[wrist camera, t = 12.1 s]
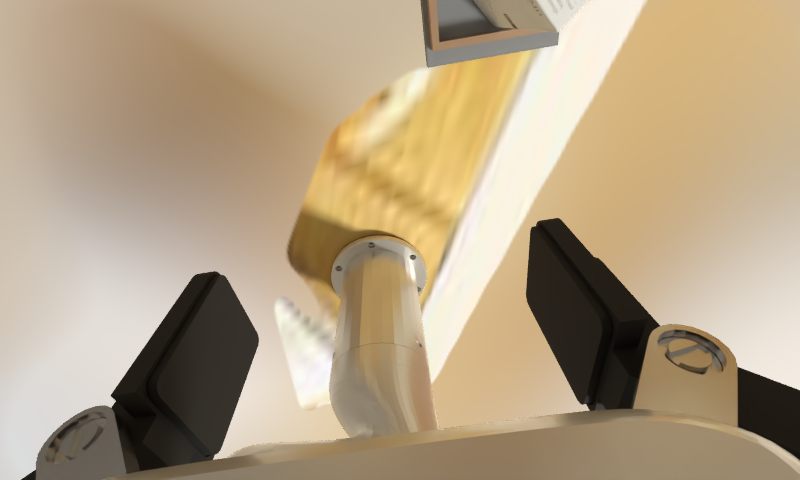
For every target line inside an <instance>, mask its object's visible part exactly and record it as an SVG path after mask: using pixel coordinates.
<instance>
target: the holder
mask: <svg viewBox="0 0 800 480" xmlns="http://www.w3.org/2000/svg"><path fill="white" fill-rule="evenodd" d="M421 10H422V20H423V31H424V40H425V51H426V61H427V67H434V66H440V65H446V64H451V63H457V62H463V61H469V60H474V59H480V58H486V57H492V56H497V55H503V54H509V53H515V52H520V51H526V50H532V49H538V48H543V47H549V46H555V45H558V37H559V32H546V31H535V30H524V29H513V28H503V27H495V26H493V25H492V24H491V22H490V21H489V20H488V19H487V18H486V16H485V15H484V14H483V12H482V11H481V10H480V8H479V7H478V6H477V5H476V3H475V2H474V0H421Z"/></svg>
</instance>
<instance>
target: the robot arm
mask: <svg viewBox="0 0 800 480" xmlns="http://www.w3.org/2000/svg"><path fill="white" fill-rule="evenodd" d="M371 242H372V243H371ZM527 275H528V276H527V289H526V298H527V302H528V305H529V307H530V309H531V311H532V313H533V315H534V317H535V319H536V321H537V322H538V324H539V326H540V328H541V330H542V332H543V334H544V336H545V338H546V340H547V342H548V344H549V346H550V348H551V350H552V351H553V353H554V355H555V357H556V359H557V361H558V363H559V365H560V367H561V369H562V371H563V373H564V375H565V377H566V378H567V381H568V382H569V384H570V386H571V388H572V390H573V392H574V394H575V396H576V398H577V400H578V401H579V402H580V403H581V404H587V406H588V408H589V410H590V411H583V412H575V413H565V414H556V415H548V416H539V417H530V418H521V419H513V420H505V421H498V422H490V423H483V424H475V425H467V426H460V427H451V428H444V429H440V427H439V423H438V419H437V414H436V409H435V404H434V398H433V392H432V386H431V379H430V372H429V365H428V358H427V351H426V344H425V337H424V331H423V324H422V317H421V310H420V303H419V296H420V294H421V293H422V292H423V290H424V288H425V285H426V281H427V270H426V265H425V262H424V259H423V257H422V256H421V254H420V253H419V251H418V250H416V249H415V248H414V247H413V246H412V245H410V244H409V243H407V242H406V241H403V240H401V239H398V238H395V237H391V236H381V235H376V236H368V237H364V238H361V239H358V240H356V241H354V242H352V243H350V244H349V245H347V246H346V247H345V248H343V249H342V250H341V252H340V253H339V254H338V255H337V257H336V259H335V260H334V263H333V267H332V273H331V280H332V285H333V288H334V290H335V292H336V293H337V295H338V296H339V297H340V306H339V314H338V321H337V329H336V337H335V344H334V352H333V359H332V368H331V375H330V384H329V392H330V400H331V404H332V408H333V410H334V412H335V414H336V417H337V419H338V420H339V422H340V424H341V425H342V427H343V429H344V430H345V431H346V433H347V434H348V436H349V437H350V438H346V439H336V440H328V441H327V440H326V441H303V442H280V443H267V444H258V445H252V446H249V447H245V448H242V449H240V450H238V451H236V452H234V453H233V454H231V455H230V456H229V457H227V458H224V459H217V460H213V458H214V455H215V454H217V453H218V452H219V451H220V450H221V447H222V445H223V442H224V439H225V436H226V434H227V431H228V428H229V425H230V422H231V419H232V417H233V414H234V411H235V408H236V406H237V403H238V400H239V397H240V394H241V392H242V389H243V386H244V383H245V380H246V378H247V375H248V372H249V369H250V366H251V364H252V361H253V358H254V355H255V353H256V350H257V347H258V342H259V338H258V334H257V332H256V330H255V328H254V326H253V325H252V323H251V321H250V319H249V317H248V316H247V314H246V312H245V310H244V309H243V307H242V305H241V303H240V301H239V299H238V298H237V296H236V294H235V292H234V290H233V289H232V287H231V285H230V283H229V282H228V280H227V278H226V277H225V276H224V275H220V274H219V273H218V272H215V271H214V272H208V273H202V274H197V275H195V276H194V277H193V278H192V279H191V281H190V282H189V284H188V285H187V287H186V288H185V289H184V291H183V292H182V294H181V295H180V297H179V298H178V299H177V301H176V302H175V304H174V305H173V307H172V308H171V309H170V311H169V312H168V314H167V315H166V317H165V318H164V319H163V321H162V322H161V324H160V325H159V327H158V328H157V330H156V331H155V332H154V334H153V335H152V337H151V338H150V340H149V341H148V343H147V344H146V346H145V347H144V348H143V350H142V351H141V353H140V354H139V355H138V357H137V358H136V360H135V361H134V363H133V364H132V366H131V367H130V368H129V370H128V371H127V373H126V374H125V376H124V377H123V379H122V380H121V381H120V383H119V384H118V386H117V387H116V389H115V390H114V392H113V393H112V394H111V397H113V398H114V399H115V400H116V402H115V403H114V405H113V406H112V408H110V407H108V406H95V407H92V408H89V409H87V410H84V411H82V412H80V413H79V414H77V415H75V416H73V417H72V418H71V419H69V420H68V421H66V422H65V423H63V425H61V426H60V427H59V428H58V429H57V430H56V431H55V432H53V434H52V435H51V436H50V437H49V438H48V440H47V441H46V442H45V443H44V445H43V447H42V448H41V450H40V452H39V453H38V457H37V461H36V470H35V471H33V472H32V473H30V474H29V475H27V476H26V477H24V478H23V479H22V480H800V390H797V389H794V388H792V387H789V386H787V385H784V384H781V383H779V382H776V381H773V380H770V379H768V378H766V377H763V376H760V375H758V374H754V373H752V372H750V371H747V370H744V369H742V368H739V367H737V363H736V359H735V356H734V355H733V354H732V352H731V351H730V349H729V348H728V347H727V346H725V345H724V344H723V343H722V342H721V341H720V340H719V339H717V338H715V337H714V336H712V335H710V334H708V333H707V332H704V331H702V330H699V329H696V328H694V327H689V326H685V325H677V324H668V325H663V326H660V325H659V324H658V323H657V322H656V321H655V320H654V319H653V317H652V316H651V315H650V314H649V313H648V312H647V311H646V310H645V309H644V307H643V306H642V305H641V304H640V303H639V302H638V301H637V300H636V299H635V297H634V296H633V295H632V294H631V293H630V292H629V291H628V290H627V289H626V288H625V286H624V285H623V284H622V283H621V282H620V281H619V280H618V279H617V277H616V276H615V275H614V274H613V273H612V272H611V271H610V270H609V269H608V268H607V266H606V265H605V264H604V263H603V262H602V261H601V260H600V259H598V258H595V257H593V255H591V253H590V252H589V251H588V250H587V249H586V248H585V247H584V245H583V244H582V243H581V242H580V241H579V240H578V239H577V238H576V236H575V235H574V234H573V233H572V232H571V231H570V229H569V228H568V227H567V226H566V225H565V224H564V223H563V222H562V220H560V219H559V218H555V219H549V220H542V221H538V222H537V224H536V226H535V227H532V228H531V233H530V246H529V261H528V274H527Z"/></svg>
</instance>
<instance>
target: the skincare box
mask: <svg viewBox="0 0 800 480" xmlns="http://www.w3.org/2000/svg"><path fill="white" fill-rule="evenodd" d="M589 1H590V0H474V2H475V3H476V5H477V6H478V7H479V8H480V10H481V11H482V12H483V14H484V15H485V16H486V18H487V19H488V20H489V21H490V22H491V24H492V25H493V26H495V27H503V28H513V29H524V30H535V31H546V32H559V31H560V30H561V29H562V28H563V27H564V26H565V25H566V24H567V23H568V22H569V21H570V20H571V19H572V18H573V17H574V16H575V15H576V14H577V13H578V12H579V11H580V10H581V9H582V8H583V7H584V6H585V5H586V4H587V3H588V2H589Z"/></svg>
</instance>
